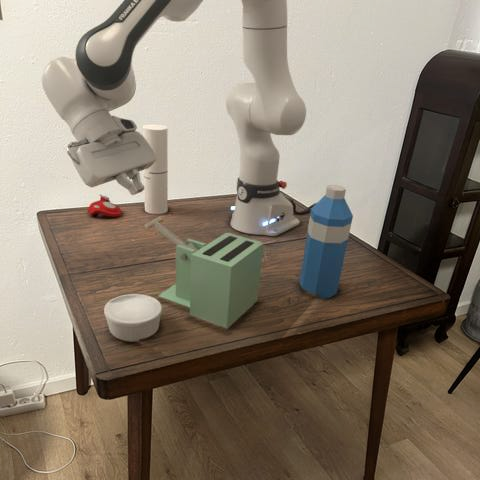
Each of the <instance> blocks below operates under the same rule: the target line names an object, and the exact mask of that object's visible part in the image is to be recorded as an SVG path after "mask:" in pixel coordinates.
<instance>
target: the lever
mask: <svg viewBox="0 0 480 480" xmlns="http://www.w3.org/2000/svg"><path fill="white" fill-rule="evenodd" d="M162 222H164V218H163V216H159V217H156V218H155V219H153V220H150V221H149V222H146V223H145V224H144V225H143V226H144V229H146V230H148V229H150V228H152V227H154V229H156V230H157V231H158V232H159V233H161V234H162V235H163V236H164V237H166V238H167V239H168V240H169V241H171V242H172V243H173V244H175V245H176V246H177V245H182V246H185V247H188V248H191V249H195V250H196V251H198V250H199V249H198V248H197V247H196V246H194V245H193V244H192V243H190V244H188V245H187V243H185V242H184V241H183V240H181V238H180V237H178V236H177V235H175V234H174V233H173V232H172V231H171V230H170V229H168V228H166V227H165V225H163V224H162Z"/></svg>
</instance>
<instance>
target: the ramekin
mask: <svg viewBox="0 0 480 480" xmlns="http://www.w3.org/2000/svg"><path fill="white" fill-rule="evenodd" d="M103 313H104V317H105V319H106V323H107V326H108V329H109V332H110V334H111V335H112V336H113V337H115V338H116V339H118V340H120V341H123V342H127V343H134V342H135V343H136V342H137V343H138V342H142V340H144V339H147V338H149V337H151V336H153V335H155V334H156V333H157V331H158V330H159V327H160V321H161V316H162V313H163V306H162V303H161V302H160V301H159V300H158V299H156V298H155V297H152V296H150V295H146V294H140V293H139V294H138V293H131V294H129V293H128V294H124V295H123V294H122V295H119V296H117V297H113V298H112V299H109V301H108V302H106V304H105V306H104V309H103Z"/></svg>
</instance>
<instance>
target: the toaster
mask: <svg viewBox="0 0 480 480" xmlns="http://www.w3.org/2000/svg"><path fill="white" fill-rule="evenodd" d="M264 245H265V242H262V241H259V240H255V239H252V238H248V237H244V236H241V235H238V234H234V233H230V232H225V233H223V234H221V235H219V236H218V237H217V238H215V239H214V240H212V241H210V242H209V243H206V246H204V247H202V248H201V249H199V250H198V251H196V252H194V253H193V254H191V287H190V308H189V314H188V316H190V317H192V318H195V319H198V320H201V321H203V322H205V323H209V324H211V325H214V326H216V327H219V328H222V329H225V330H228V329H230V327H231V326H233V325H234V324H235V323H236V322H237V321H238V320H239V319H240V318H241V317H242V316H243V315H244V314H245V313H247V312H248V311H249V309H251V308H252V307H253V306H254V305H255V304H256V303H257V302H259V291H260V280H261V272H262V262H263V256H264V255H263V254H264Z"/></svg>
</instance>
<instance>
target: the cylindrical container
mask: <svg viewBox="0 0 480 480" xmlns="http://www.w3.org/2000/svg"><path fill="white" fill-rule="evenodd" d="M141 128H142V135H143V137H144V138H145V139H146V141H147V142H148V143H149V145H150V146H151V148H152V149H153V151H154V153H155V155H156V161H155V163H154V164H153V165H152V166H151V167H150V168H148V169H145V170H143V186H144V187H145V189H144V190H143V192H144V193H143V197H144V199H143V201H144V211H145V212H146V213H148V214H150V215H163V214H166V213H168V211H169V210H168V209H169V208H168V207H169V205H168V202H169V200H168V199H169V198H168V197H169V194H168V193H169V191H168V187H169V185H168V184H169V182H168V179H169V178H168V177H169V176H168V173H169V171H168V170H169V169H168V168H169V167H168V166H169V165H168V164H169V163H168V158H169V157H168V126H166V125H163V124H155V123H152V124H151V123H149V124H143V125H142V127H141Z"/></svg>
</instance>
